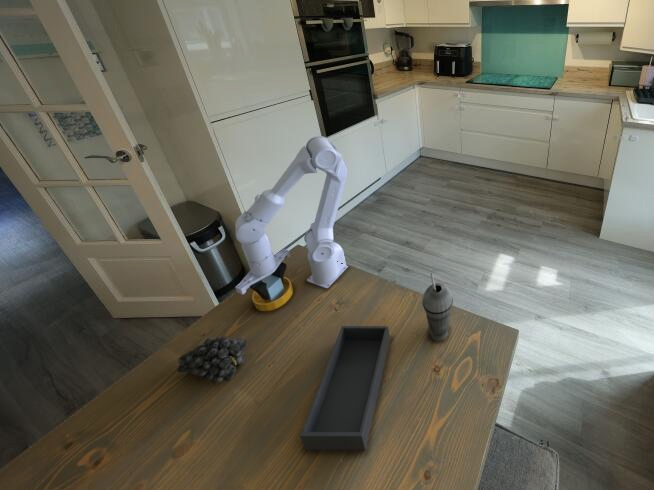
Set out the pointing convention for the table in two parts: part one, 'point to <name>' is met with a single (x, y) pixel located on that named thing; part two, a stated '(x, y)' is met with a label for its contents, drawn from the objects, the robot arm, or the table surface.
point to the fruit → (214, 359)
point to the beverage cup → (437, 309)
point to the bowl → (268, 306)
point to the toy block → (274, 287)
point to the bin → (347, 391)
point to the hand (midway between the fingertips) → (272, 291)
